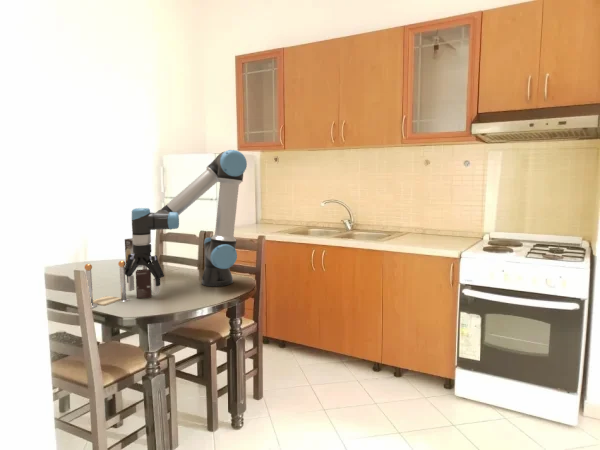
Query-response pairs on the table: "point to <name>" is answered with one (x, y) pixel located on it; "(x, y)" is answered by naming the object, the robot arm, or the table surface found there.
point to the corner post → (122, 282)
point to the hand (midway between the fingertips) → (143, 291)
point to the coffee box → (129, 249)
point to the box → (143, 283)
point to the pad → (106, 300)
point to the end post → (90, 282)
